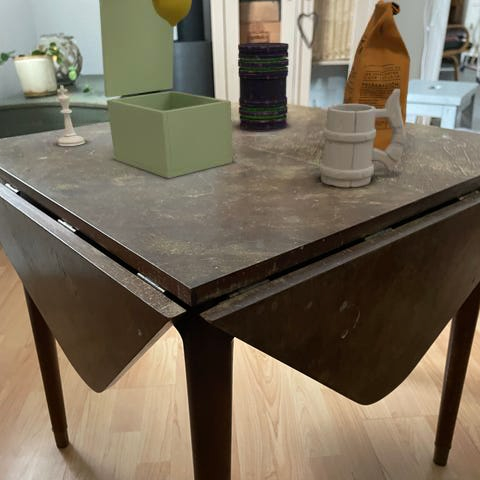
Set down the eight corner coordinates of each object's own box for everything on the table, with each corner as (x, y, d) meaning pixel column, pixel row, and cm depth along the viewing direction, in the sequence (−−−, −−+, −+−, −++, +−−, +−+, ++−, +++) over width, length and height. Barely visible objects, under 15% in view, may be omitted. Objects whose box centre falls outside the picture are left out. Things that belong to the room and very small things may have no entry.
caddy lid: (174, -25, 82) (156, -30, 84) (100, -25, 75) (82, -31, 77) (172, 88, 92) (156, 80, 95) (107, 97, 85) (91, 88, 88)
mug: (313, 173, 80) (317, 87, 74) (390, 170, 81) (401, 84, 75) (324, 189, 74) (330, 95, 68) (408, 185, 75) (422, 92, 69)
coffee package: (393, 143, 96) (411, -1, 85) (403, 161, 85) (425, 0, 74) (337, 142, 97) (347, 0, 86) (340, 160, 87) (352, 1, 75)
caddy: (232, 162, 87) (231, 101, 82) (168, 178, 80) (162, 112, 75) (176, 146, 97) (171, 90, 92) (114, 159, 90) (106, 100, 85)
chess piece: (63, 140, 103) (52, 83, 98) (88, 140, 103) (79, 83, 98) (54, 146, 99) (43, 87, 94) (80, 146, 99) (70, 87, 93)
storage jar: (251, 120, 116) (251, 42, 109) (294, 123, 112) (296, 42, 105) (230, 129, 109) (228, 46, 101) (275, 132, 105) (277, 47, 97)
